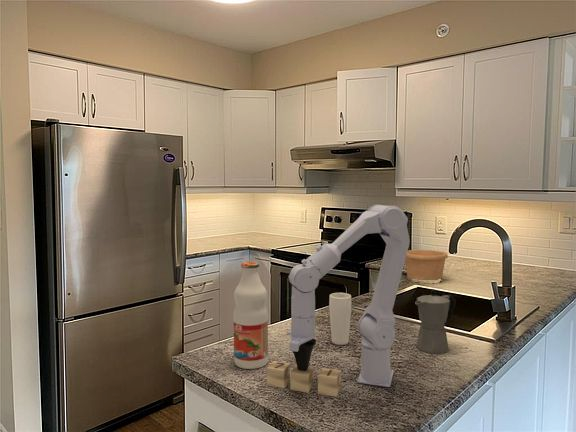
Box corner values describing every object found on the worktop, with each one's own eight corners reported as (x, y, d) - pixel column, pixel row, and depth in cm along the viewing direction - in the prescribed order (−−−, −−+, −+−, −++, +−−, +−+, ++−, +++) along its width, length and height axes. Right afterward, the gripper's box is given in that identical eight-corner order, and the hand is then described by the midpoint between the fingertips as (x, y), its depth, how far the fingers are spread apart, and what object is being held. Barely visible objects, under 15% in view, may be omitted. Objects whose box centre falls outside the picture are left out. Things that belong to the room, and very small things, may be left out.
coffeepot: (426, 357, 123) (427, 295, 122) (404, 346, 132) (405, 288, 131) (466, 349, 130) (467, 289, 129) (442, 338, 138) (444, 283, 137)
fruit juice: (275, 363, 120) (274, 262, 118) (248, 373, 114) (247, 267, 112) (253, 353, 127) (252, 258, 125) (227, 362, 121) (225, 262, 119)
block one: (322, 385, 107) (322, 367, 106) (340, 388, 105) (340, 370, 105) (317, 394, 102) (317, 375, 102) (336, 397, 101) (336, 377, 101)
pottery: (445, 277, 230) (445, 250, 229) (448, 286, 209) (449, 257, 208) (403, 275, 236) (403, 249, 235) (401, 284, 215) (402, 255, 214)
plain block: (296, 382, 109) (296, 364, 108) (313, 384, 107) (313, 367, 107) (290, 390, 104) (290, 372, 104) (308, 393, 103) (308, 374, 103)
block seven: (273, 378, 111) (273, 360, 111) (290, 380, 109) (290, 362, 109) (266, 385, 107) (266, 367, 106) (284, 388, 105) (283, 370, 105)
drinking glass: (324, 342, 135) (324, 295, 134) (337, 337, 140) (337, 291, 139) (342, 348, 131) (342, 299, 130) (355, 342, 136) (355, 295, 134)
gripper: (296, 305, 113) (296, 356, 114) (276, 322, 99) (276, 379, 100) (323, 308, 110) (322, 360, 111) (306, 325, 97) (306, 384, 98)
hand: (302, 369), depth 106 cm, fingers closed, pressing on plain block
